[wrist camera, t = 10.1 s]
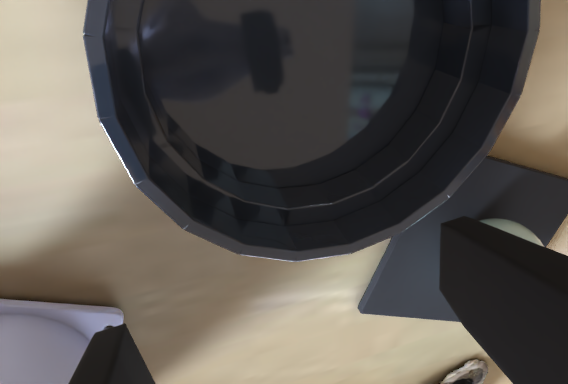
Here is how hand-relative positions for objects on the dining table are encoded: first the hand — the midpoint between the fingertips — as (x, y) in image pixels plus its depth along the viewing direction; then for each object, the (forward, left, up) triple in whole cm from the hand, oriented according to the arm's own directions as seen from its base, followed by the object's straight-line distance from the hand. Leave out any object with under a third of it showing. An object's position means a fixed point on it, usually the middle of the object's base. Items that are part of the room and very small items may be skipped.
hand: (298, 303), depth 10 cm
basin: (+5, -1, -9) cm, 11 cm away
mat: (-2, -14, -9) cm, 17 cm away
